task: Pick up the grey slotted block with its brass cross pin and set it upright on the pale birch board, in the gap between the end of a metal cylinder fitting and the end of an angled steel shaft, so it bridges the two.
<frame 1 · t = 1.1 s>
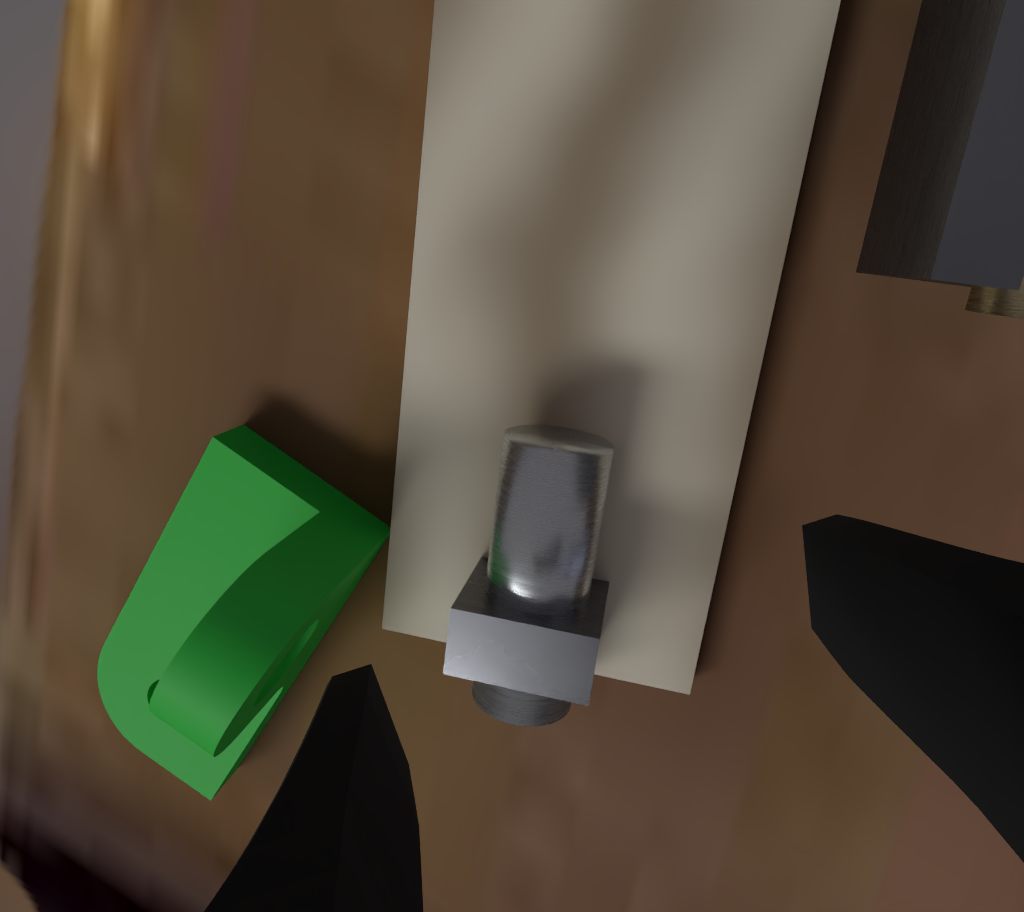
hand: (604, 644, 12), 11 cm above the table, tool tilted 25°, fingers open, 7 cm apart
metal cylinder fitting: (550, 544, 24), resting on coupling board
grey slotted block: (978, 119, 19), on the table
mechanical part: (246, 603, 27), on the table
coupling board: (601, 201, 21), on the table
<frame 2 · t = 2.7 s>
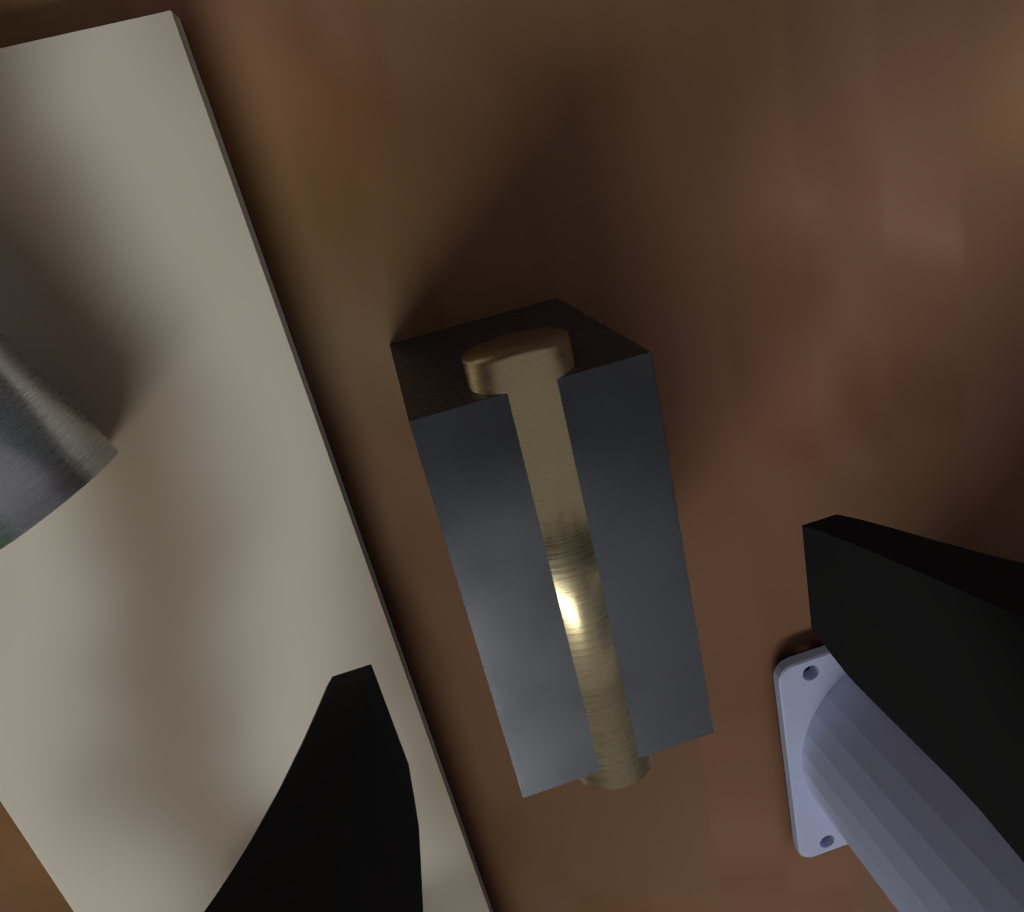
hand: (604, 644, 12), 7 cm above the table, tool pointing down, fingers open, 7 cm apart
grey slotted block: (512, 474, 19), on the table
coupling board: (199, 684, 19), on the table
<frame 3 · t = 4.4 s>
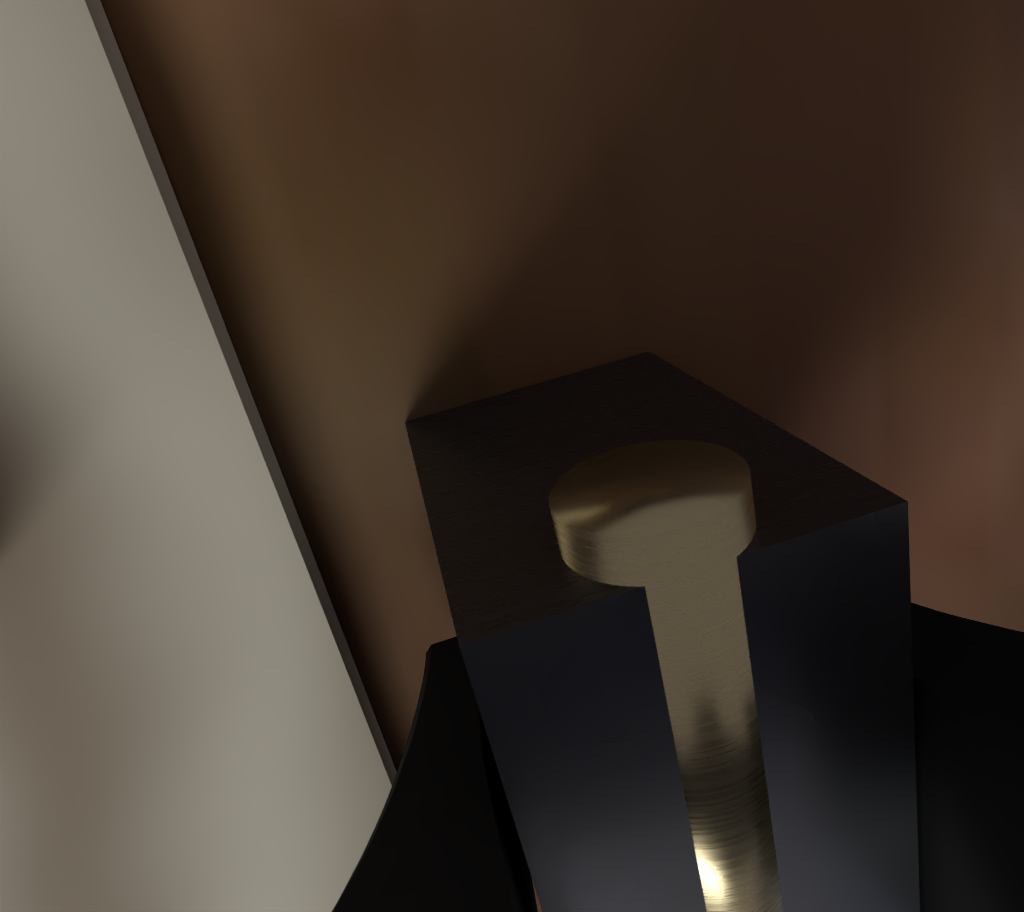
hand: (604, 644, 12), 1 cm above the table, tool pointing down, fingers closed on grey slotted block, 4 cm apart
grey slotted block: (578, 598, 13), on the table, touching gripper
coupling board: (134, 891, 13), on the table
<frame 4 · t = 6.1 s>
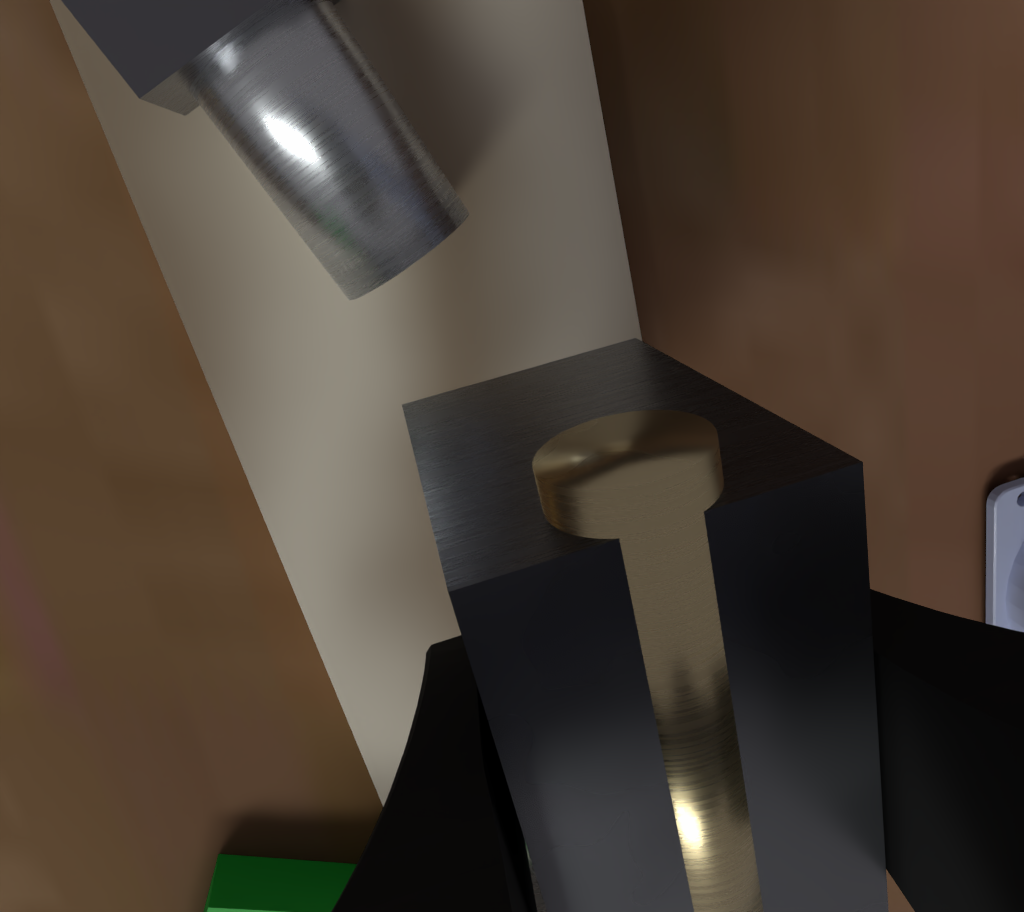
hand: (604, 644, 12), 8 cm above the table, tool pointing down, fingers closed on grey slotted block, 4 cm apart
metal cylinder fitting: (553, 775, 24), resting on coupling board
grey slotted block: (569, 576, 14), point 6 cm above the table, touching gripper
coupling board: (470, 486, 20), on the table
angled shaft: (286, 83, 16), resting on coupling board
when the fingers open (3 cm above the table, at t = 8.0 s): grey slotted block stays where it is, resting on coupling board.
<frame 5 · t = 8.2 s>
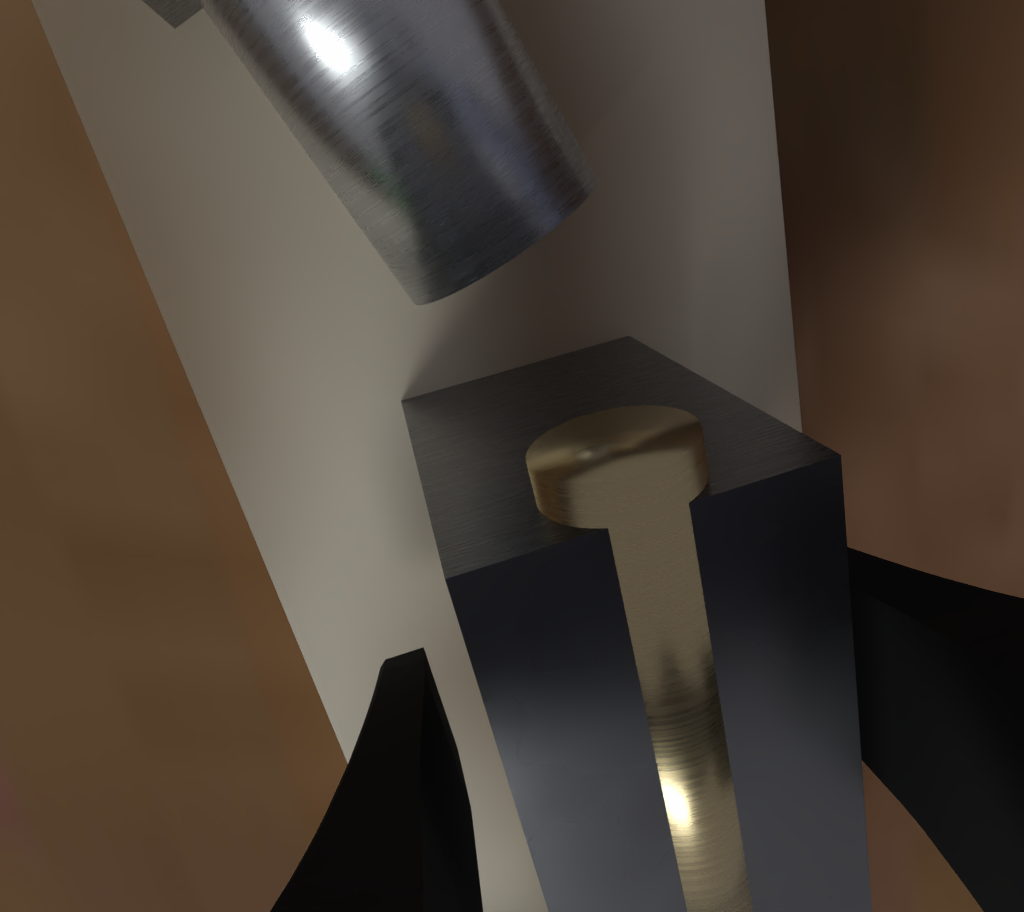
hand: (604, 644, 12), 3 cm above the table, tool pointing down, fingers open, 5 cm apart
grey slotted block: (564, 568, 14), point 1 cm above the table, touching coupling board
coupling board: (553, 551, 15), on the table
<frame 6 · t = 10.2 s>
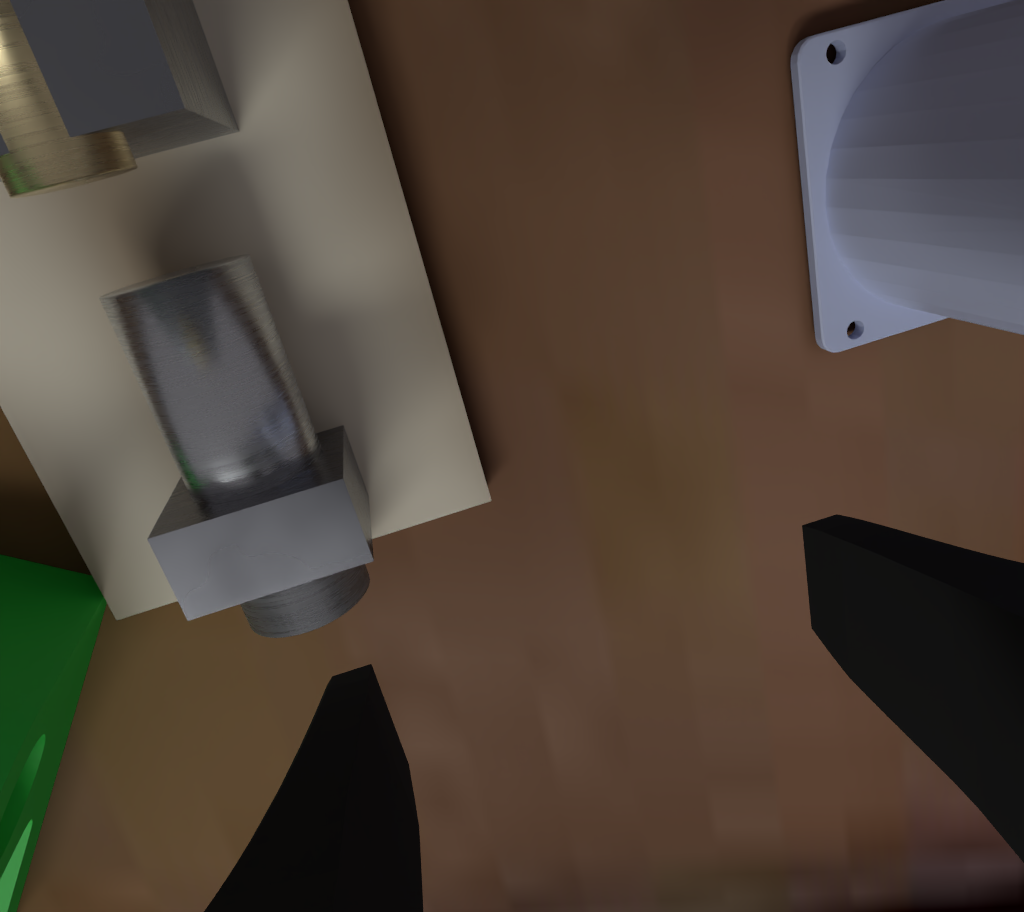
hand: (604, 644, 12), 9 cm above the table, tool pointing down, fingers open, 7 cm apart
metal cylinder fitting: (259, 420, 19), resting on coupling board
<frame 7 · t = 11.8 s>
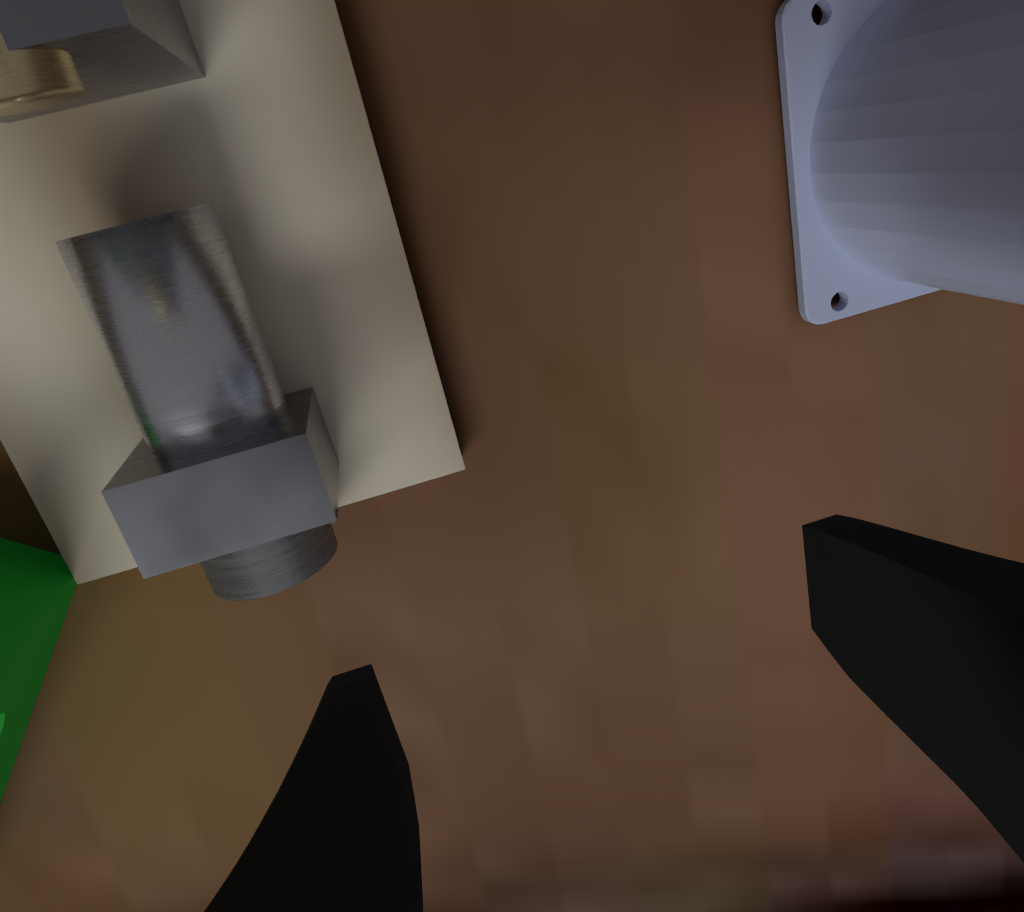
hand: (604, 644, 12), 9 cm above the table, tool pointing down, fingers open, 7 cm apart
metal cylinder fitting: (227, 381, 19), resting on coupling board
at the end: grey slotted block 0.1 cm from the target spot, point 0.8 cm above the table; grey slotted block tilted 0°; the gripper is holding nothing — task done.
